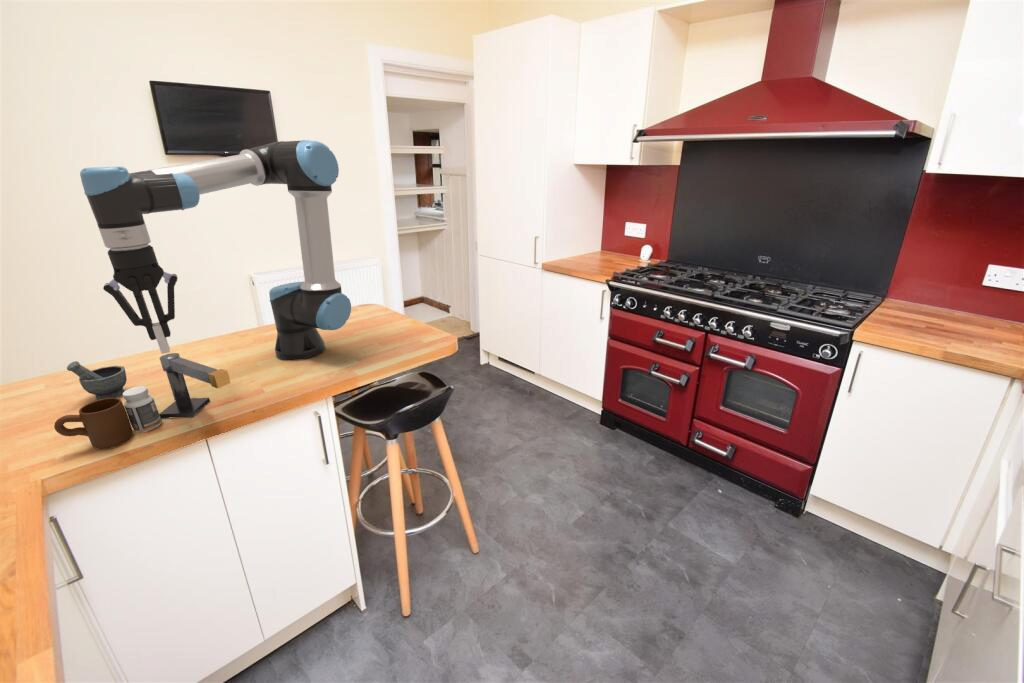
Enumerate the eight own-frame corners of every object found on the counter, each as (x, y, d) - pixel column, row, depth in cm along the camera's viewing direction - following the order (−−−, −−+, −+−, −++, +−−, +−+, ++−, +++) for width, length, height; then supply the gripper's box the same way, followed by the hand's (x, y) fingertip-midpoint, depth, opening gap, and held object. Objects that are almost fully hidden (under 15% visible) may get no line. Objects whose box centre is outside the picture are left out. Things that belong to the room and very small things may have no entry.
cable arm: (159, 369, 115) (156, 357, 114) (177, 363, 118) (173, 352, 117) (215, 389, 105) (212, 376, 104) (232, 382, 108) (229, 369, 107)
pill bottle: (164, 418, 116) (152, 383, 113) (158, 430, 111) (146, 393, 108) (137, 423, 114) (124, 387, 111) (130, 435, 109) (116, 398, 106)
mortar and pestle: (124, 384, 134) (110, 346, 130) (139, 392, 129) (125, 353, 125) (75, 401, 125) (58, 360, 121) (88, 410, 121) (71, 368, 116)
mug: (67, 463, 99) (50, 425, 96) (66, 448, 105) (50, 412, 101) (136, 441, 107) (123, 405, 104) (132, 428, 112) (119, 393, 109)
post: (210, 401, 124) (199, 362, 120) (193, 417, 117) (180, 375, 112) (179, 402, 124) (166, 363, 119) (160, 418, 116) (146, 376, 112)
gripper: (86, 254, 89) (128, 364, 99) (167, 245, 96) (200, 349, 105) (91, 248, 95) (130, 352, 104) (167, 240, 102) (198, 339, 111)
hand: (165, 351), depth 105 cm, fingers closed
